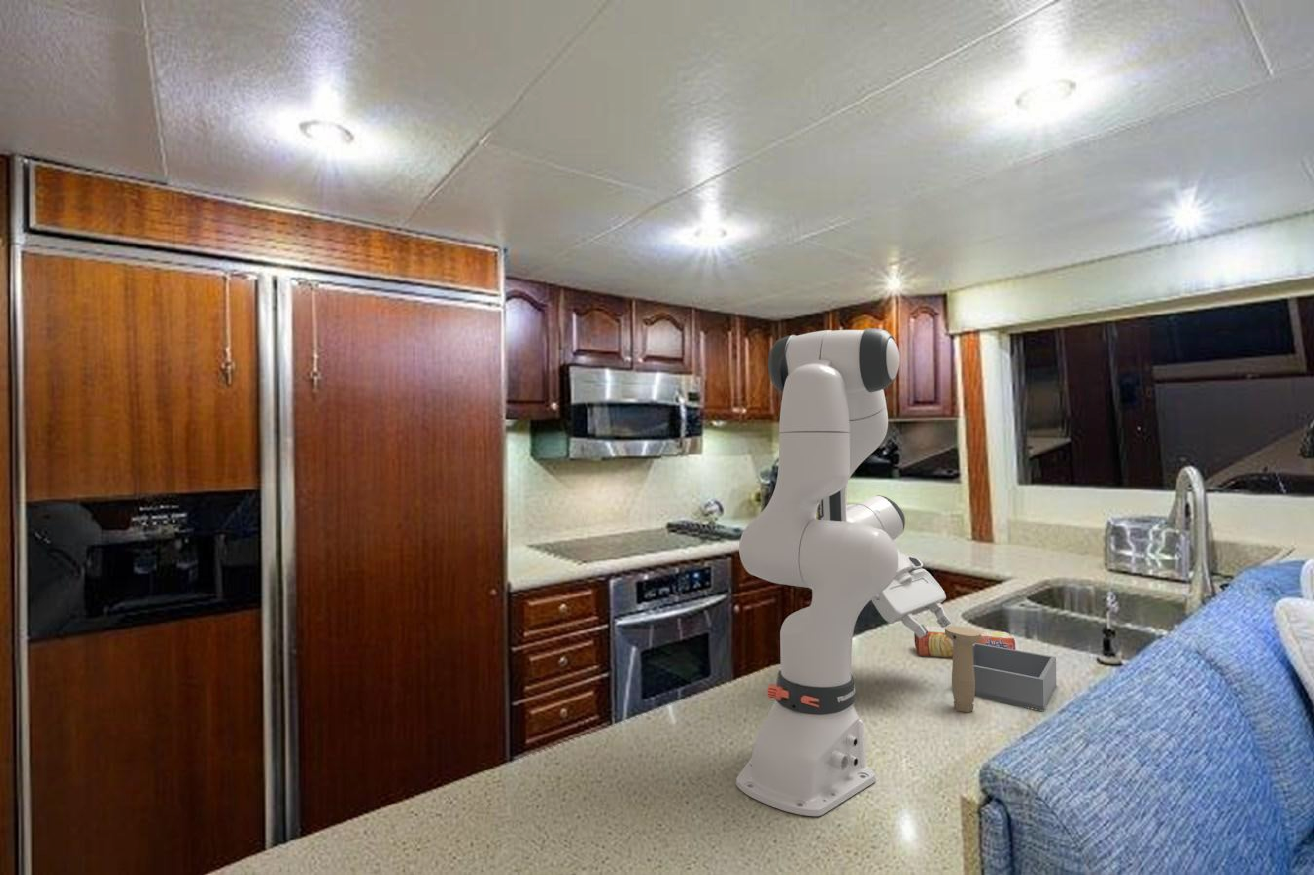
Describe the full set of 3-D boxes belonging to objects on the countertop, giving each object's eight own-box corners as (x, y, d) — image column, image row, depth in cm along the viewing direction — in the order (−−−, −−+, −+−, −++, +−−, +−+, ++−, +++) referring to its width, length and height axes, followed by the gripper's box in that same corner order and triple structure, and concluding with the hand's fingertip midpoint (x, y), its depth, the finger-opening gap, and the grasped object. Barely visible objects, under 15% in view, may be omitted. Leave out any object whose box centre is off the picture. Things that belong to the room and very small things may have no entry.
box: (1043, 711, 122) (1042, 679, 122) (952, 691, 132) (952, 662, 132) (1056, 685, 134) (1056, 657, 134) (972, 669, 144) (972, 642, 144)
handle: (956, 701, 127) (955, 624, 127) (987, 713, 121) (986, 633, 121) (940, 706, 125) (939, 628, 125) (970, 718, 119) (969, 637, 119)
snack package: (1009, 656, 153) (1009, 627, 153) (1017, 665, 147) (1016, 636, 147) (913, 649, 159) (913, 622, 159) (917, 658, 152) (916, 629, 152)
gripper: (872, 571, 126) (921, 632, 119) (923, 557, 139) (969, 611, 132) (852, 590, 129) (898, 651, 122) (903, 575, 143) (948, 628, 135)
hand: (936, 630), depth 127 cm, fingers open, 8 cm apart
